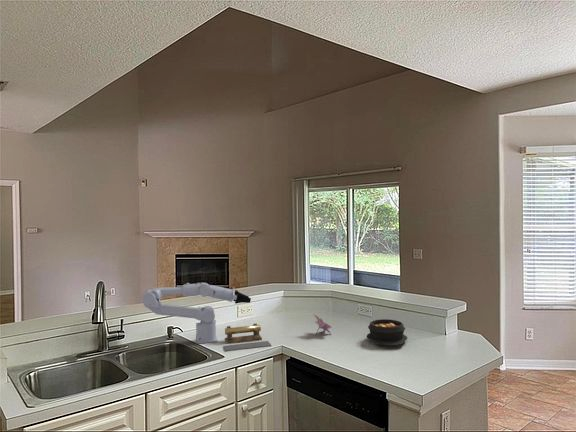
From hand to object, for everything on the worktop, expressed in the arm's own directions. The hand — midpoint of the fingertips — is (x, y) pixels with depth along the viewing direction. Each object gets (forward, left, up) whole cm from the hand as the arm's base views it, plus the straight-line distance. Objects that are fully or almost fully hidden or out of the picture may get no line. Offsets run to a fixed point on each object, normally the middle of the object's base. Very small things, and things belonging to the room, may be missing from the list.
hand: (249, 299), depth 208 cm
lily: (+35, -8, -19) cm, 40 cm away
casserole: (+59, -29, -19) cm, 68 cm away
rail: (-4, -4, -14) cm, 15 cm away
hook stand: (-4, -4, -18) cm, 19 cm away
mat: (-4, -14, -18) cm, 24 cm away
